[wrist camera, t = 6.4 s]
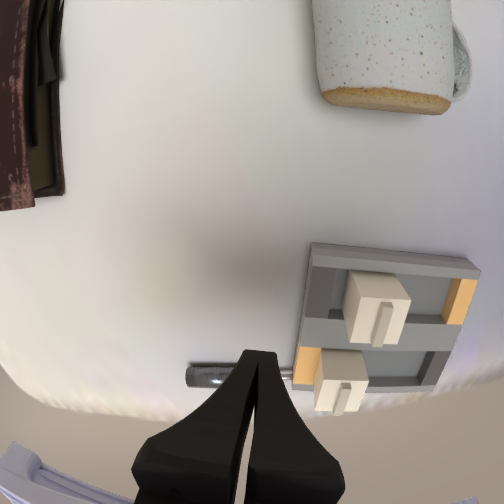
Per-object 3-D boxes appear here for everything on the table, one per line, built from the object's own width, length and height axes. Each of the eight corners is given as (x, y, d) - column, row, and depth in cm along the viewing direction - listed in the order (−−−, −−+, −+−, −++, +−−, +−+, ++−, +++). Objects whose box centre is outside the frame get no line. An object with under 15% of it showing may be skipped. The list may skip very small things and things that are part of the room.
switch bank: (467, 258, 20) (480, 270, 18) (425, 374, 24) (432, 391, 22) (311, 242, 21) (313, 254, 19) (292, 371, 25) (291, 389, 23)
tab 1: (359, 344, 22) (370, 387, 18) (350, 374, 23) (358, 417, 19) (319, 341, 22) (324, 386, 18) (313, 372, 23) (315, 416, 19)
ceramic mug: (311, 111, 18) (329, 98, 11) (304, -7, 15) (313, -69, 8) (463, 125, 17) (535, 131, 10) (453, 16, 14) (514, -16, 7)
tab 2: (392, 270, 20) (414, 305, 16) (382, 310, 21) (399, 350, 17) (349, 266, 20) (363, 302, 16) (341, 307, 21) (351, 349, 17)
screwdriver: (316, 359, 24) (317, 374, 23) (316, 375, 25) (317, 391, 23) (189, 362, 26) (183, 375, 24) (194, 377, 26) (189, 391, 25)
